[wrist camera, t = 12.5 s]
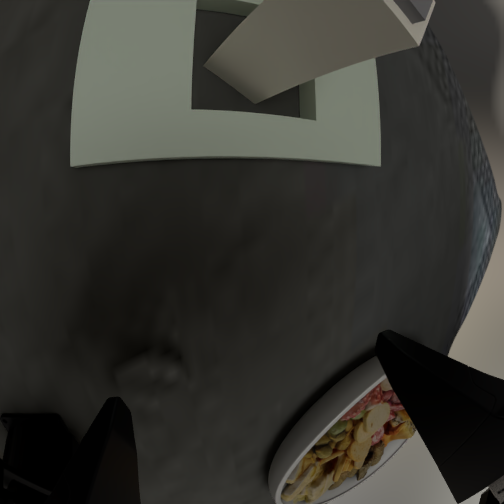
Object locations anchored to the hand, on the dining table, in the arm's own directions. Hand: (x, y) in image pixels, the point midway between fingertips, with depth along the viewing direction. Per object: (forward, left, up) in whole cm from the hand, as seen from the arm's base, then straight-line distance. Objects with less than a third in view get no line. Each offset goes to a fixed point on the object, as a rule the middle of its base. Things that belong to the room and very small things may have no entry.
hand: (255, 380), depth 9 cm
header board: (+5, +14, -11) cm, 19 cm away
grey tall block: (+5, +14, -11) cm, 19 cm away
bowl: (+21, -27, -12) cm, 36 cm away
